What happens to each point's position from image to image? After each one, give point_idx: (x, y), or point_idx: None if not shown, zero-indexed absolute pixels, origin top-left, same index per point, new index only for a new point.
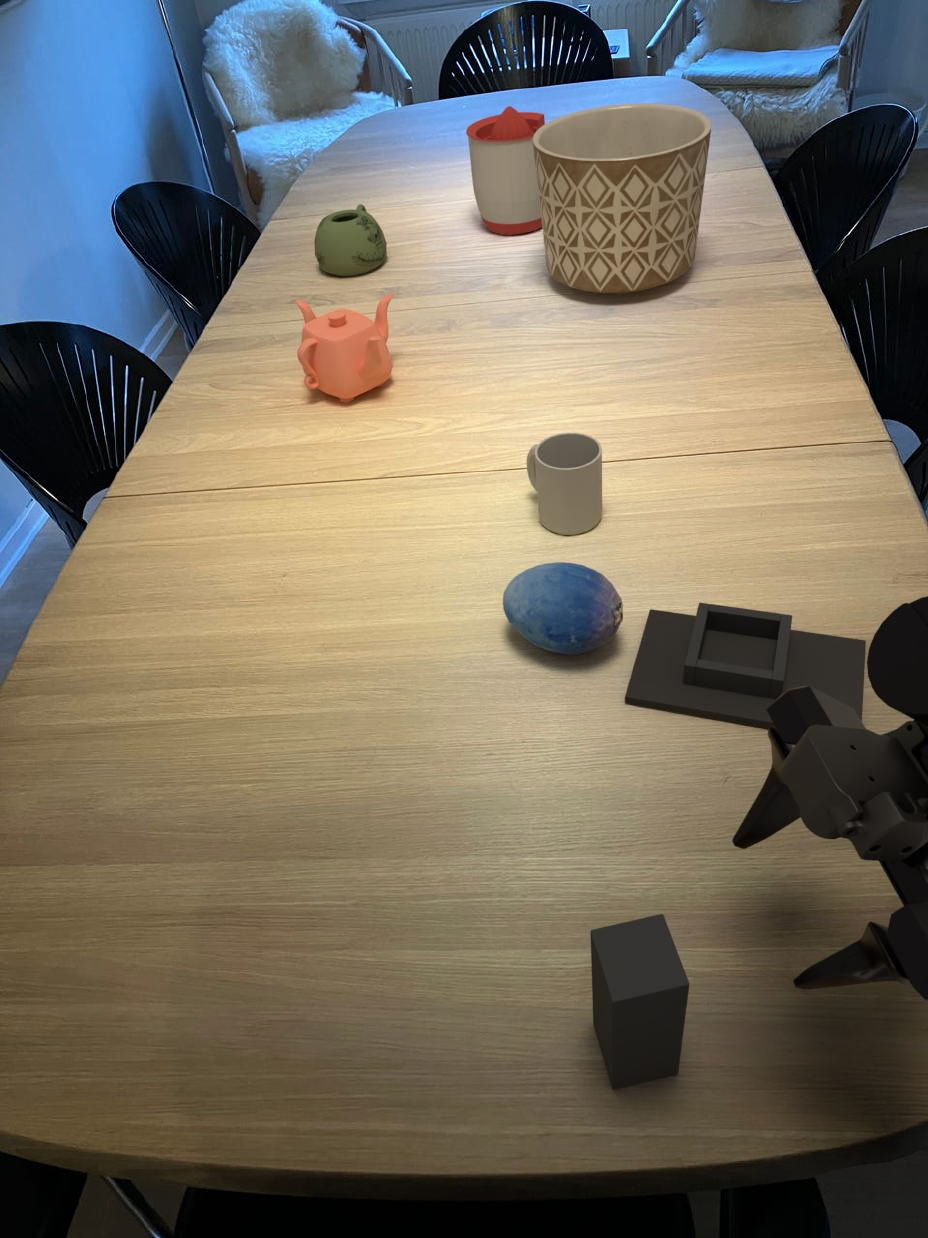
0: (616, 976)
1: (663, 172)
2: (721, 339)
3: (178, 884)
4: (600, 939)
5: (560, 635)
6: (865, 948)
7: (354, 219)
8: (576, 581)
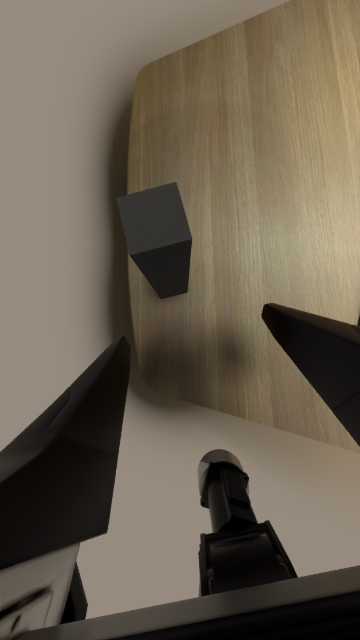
0: (136, 200)
1: None
2: None
3: (238, 91)
4: (167, 189)
5: None
6: (23, 455)
7: None
8: None
